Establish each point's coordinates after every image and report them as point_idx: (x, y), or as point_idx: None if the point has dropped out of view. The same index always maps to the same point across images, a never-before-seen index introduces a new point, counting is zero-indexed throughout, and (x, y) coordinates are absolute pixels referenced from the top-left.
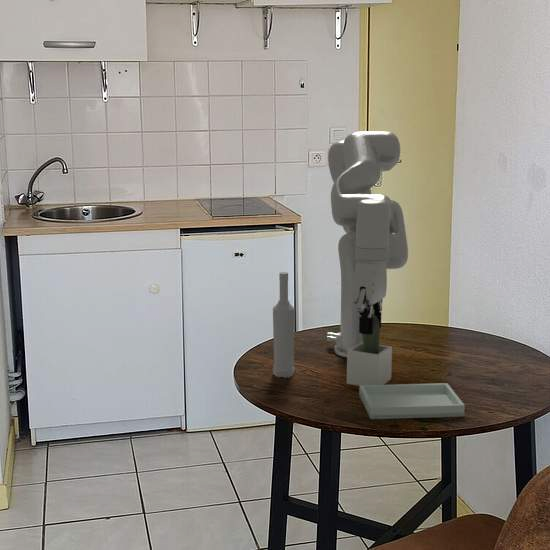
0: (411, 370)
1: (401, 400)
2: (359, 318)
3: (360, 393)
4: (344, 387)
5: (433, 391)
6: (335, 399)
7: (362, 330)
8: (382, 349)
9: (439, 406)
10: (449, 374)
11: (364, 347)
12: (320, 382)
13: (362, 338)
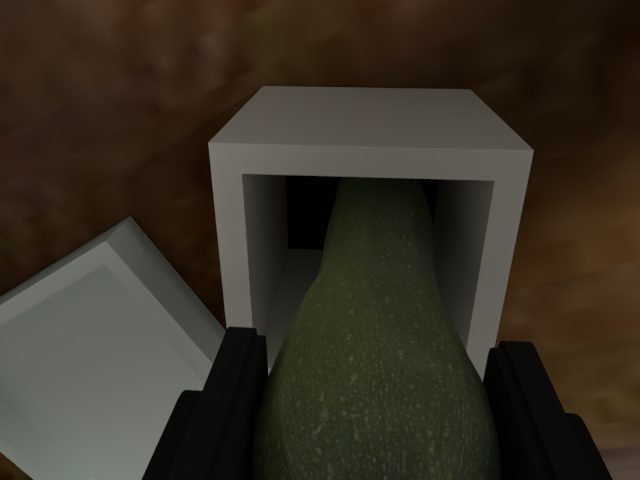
0: (622, 316)
1: (149, 395)
2: (169, 473)
3: (96, 241)
4: (201, 98)
5: None
6: (14, 128)
7: (188, 393)
8: (463, 327)
9: None
10: (602, 455)
11: (326, 260)
12: None
13: (333, 279)
